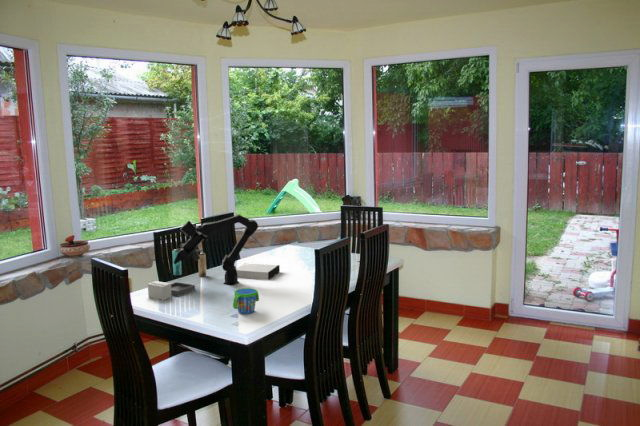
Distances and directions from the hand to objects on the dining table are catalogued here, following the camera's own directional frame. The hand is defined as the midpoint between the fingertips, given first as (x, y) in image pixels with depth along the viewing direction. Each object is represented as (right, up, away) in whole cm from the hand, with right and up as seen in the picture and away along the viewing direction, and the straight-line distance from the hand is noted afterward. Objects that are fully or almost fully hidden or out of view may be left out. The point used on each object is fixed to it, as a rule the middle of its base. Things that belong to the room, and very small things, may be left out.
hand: (174, 262), depth 280 cm
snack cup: (+45, -20, -40) cm, 63 cm away
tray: (+4, -15, -7) cm, 17 cm away
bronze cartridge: (+10, -10, +24) cm, 28 cm away
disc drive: (+42, -11, +27) cm, 51 cm away
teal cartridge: (+1, -6, +1) cm, 7 cm away
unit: (-3, -16, -17) cm, 23 cm away
